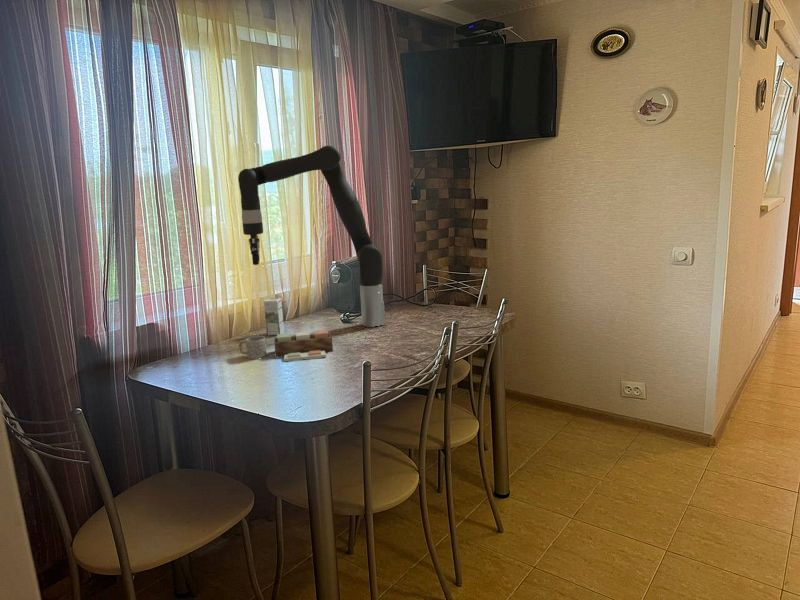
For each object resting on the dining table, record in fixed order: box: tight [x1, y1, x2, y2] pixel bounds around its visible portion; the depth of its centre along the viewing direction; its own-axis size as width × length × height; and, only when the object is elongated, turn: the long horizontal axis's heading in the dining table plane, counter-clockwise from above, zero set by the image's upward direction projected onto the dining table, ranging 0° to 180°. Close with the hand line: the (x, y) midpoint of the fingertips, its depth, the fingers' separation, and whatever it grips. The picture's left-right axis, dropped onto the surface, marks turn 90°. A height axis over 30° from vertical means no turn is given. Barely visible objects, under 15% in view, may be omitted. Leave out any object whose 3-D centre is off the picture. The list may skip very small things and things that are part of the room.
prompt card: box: [283, 350, 327, 362], centre depth 198 cm, size 14×5×2 cm, turn 102°
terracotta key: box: [313, 329, 329, 338], centre depth 206 cm, size 5×5×2 cm
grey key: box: [295, 330, 311, 340], centre depth 205 cm, size 5×5×2 cm
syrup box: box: [263, 297, 285, 337], centre depth 230 cm, size 6×6×14 cm
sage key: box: [276, 332, 292, 342], centre depth 204 cm, size 5×5×2 cm
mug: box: [238, 335, 267, 360], centre depth 202 cm, size 10×7×7 cm
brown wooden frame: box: [274, 331, 334, 358], centre depth 205 cm, size 20×8×5 cm, turn 102°
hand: (256, 263), depth 225 cm, fingers open, 8 cm apart
